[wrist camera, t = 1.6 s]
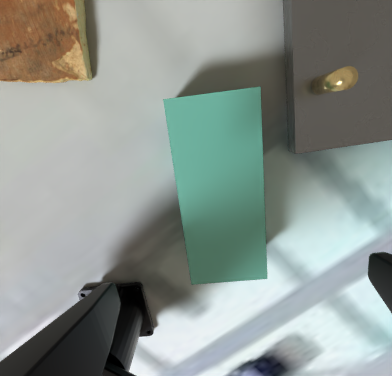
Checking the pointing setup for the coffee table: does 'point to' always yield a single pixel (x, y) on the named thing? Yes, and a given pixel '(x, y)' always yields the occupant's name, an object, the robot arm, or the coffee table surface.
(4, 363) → the robot arm
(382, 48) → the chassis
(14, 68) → the shard
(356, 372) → the coffee table surface
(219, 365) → the coffee table surface
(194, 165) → the green rectangular block
